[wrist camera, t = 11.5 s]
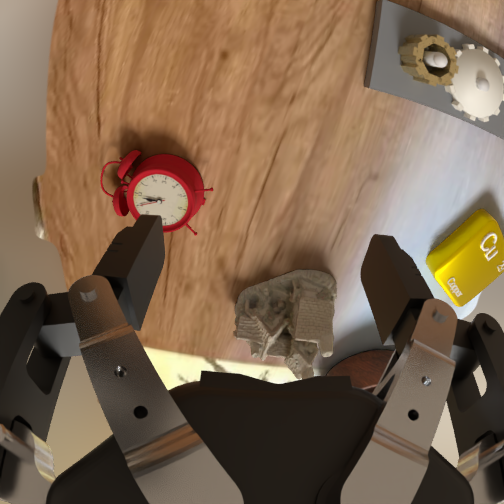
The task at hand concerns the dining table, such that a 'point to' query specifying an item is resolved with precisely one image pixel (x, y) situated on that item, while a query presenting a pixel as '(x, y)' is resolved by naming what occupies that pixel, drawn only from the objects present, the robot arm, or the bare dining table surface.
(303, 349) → the ceramic cottage
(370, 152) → the dining table surface
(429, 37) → the brass gear
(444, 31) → the gear board
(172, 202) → the alarm clock
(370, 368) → the wooden bowl
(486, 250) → the element tile
